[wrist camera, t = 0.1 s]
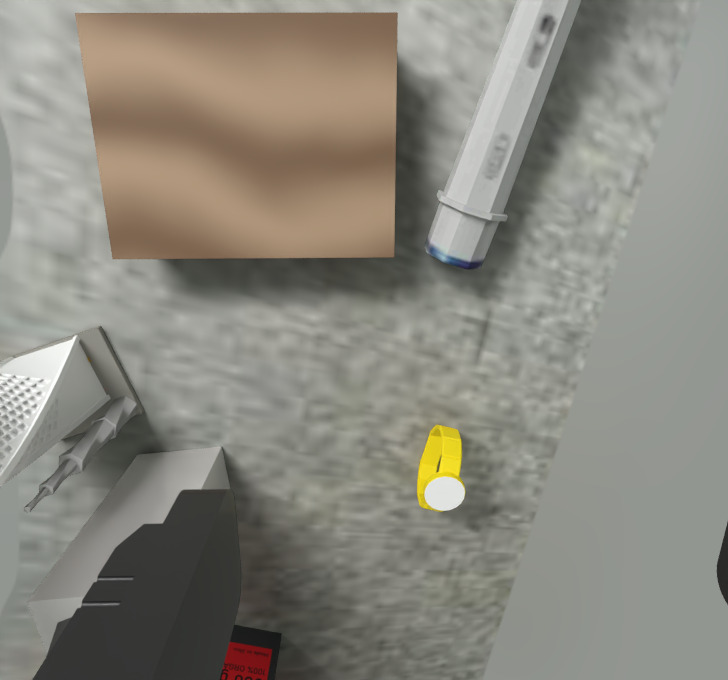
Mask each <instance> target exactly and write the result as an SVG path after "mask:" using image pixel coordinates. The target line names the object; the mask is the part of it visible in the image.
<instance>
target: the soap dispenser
mask: <svg viewBox="0 0 728 680" xmlns="http://www.w3.org/2000/svg"><path fill="white" fill-rule="evenodd" d="M185 489H230V484H229V480H228V475H227V470H226V465H225V460H224V456H223V451H222V447H211V448H201V449H190V450H180V451H169V452H159V453H149V454H138V455H137V456H136V458H135V459H134V460H133V462H132V463H131V464H130V466H129V467H128V468H127V470H126V471H125V472H124V474H123V475H122V476H121V478H120V479H119V480H118V482H117V483H116V484H115V486H114V487H113V488H112V490H111V491H110V492H109V494H108V495H107V496H106V498H105V499H104V500H103V502H102V503H101V504H100V506H99V507H98V508H97V510H96V511H95V512H94V514H93V515H92V516H91V517H90V519H89V520H88V521H87V523H86V524H85V525H84V527H83V528H82V529H81V531H80V532H79V533H78V535H77V536H76V537H75V539H74V540H73V541H72V543H71V544H70V545H69V547H68V548H67V549H66V551H65V552H64V553H63V555H62V556H61V557H60V559H59V560H58V561H57V563H56V564H55V565H54V567H53V568H52V569H51V571H50V572H49V573H48V575H47V576H46V577H45V579H44V580H43V581H42V582H41V584H40V585H39V586H38V588H37V589H36V590H35V592H34V593H33V594H32V596H31V597H30V598H29V600H28V601H27V603H28V606H29V608H30V611H31V614H32V616H33V619H34V622H35V624H36V627H37V630H38V632H39V635H40V638H41V640H42V643H43V646H44V648H45V651H46V654H47V656H48V654H49V653H50V651H51V649H52V648H53V646H54V645H55V643H56V641H57V640H58V638H59V637H60V635H61V633H62V632H63V630H64V629H65V627H66V625H67V624H68V622H69V621H70V619H71V618H72V616H73V614H74V613H75V611H76V610H77V608H81V605H82V600H83V598H84V597H85V595H86V594H87V592H88V590H89V589H90V587H91V586H92V584H93V582H97V578H98V577H97V576H98V575H99V573H100V571H101V570H102V568H103V567H104V565H105V563H106V562H107V560H108V559H109V557H110V555H111V554H112V552H113V551H114V549H115V547H117V546H118V545H119V544H120V543H121V542H123V541H124V540H125V539H126V538H127V537H129V536H130V535H131V534H132V533H134V532H135V531H136V530H137V529H138V528H140V527H141V526H142V525H143V524H158V523H163V522H164V520H165V518H166V517H167V515H168V513H169V511H170V509H171V507H172V505H173V504H174V502H175V500H176V498H177V496H178V494H179V493H180V492H181V491H182V490H185ZM47 656H46V657H47Z"/></svg>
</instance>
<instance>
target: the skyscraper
mask: <svg viewBox="0 0 728 680" xmlns="http://www.w3.org/2000/svg"><path fill="white" fill-rule="evenodd" d="M143 412H144V409H143V407H142V406H141V404H140V402H139V400H138V398H137V396H136V394H135V392H134V390H133V388H132V386H131V384H130V382H129V380H128V378H127V376H126V374H125V373H124V371H123V369H122V367H121V365H120V363H119V361H118V359H117V357H116V355H115V353H114V351H113V349H112V347H111V345H110V343H109V341H108V340H107V338H106V336H105V334H104V332H103V330H102V328H101V326H99V327H96V328H94V329H91V330H88V331H85V332H82V333H79V334H76V335H73V336H70V337H67V338H64V339H61V340H58V341H55V342H52V343H50V344H47V345H44V346H41V347H38V348H35V349H32V350H29V351H26V352H23V353H20V354H17V355H14V356H12V357H9V358H7V359H5V360H3V361H1V362H0V487H1V486H2V485H3V484H5V483H6V482H7V481H9V480H10V479H11V478H12V477H14V476H15V475H17V474H18V473H19V472H21V471H22V470H23V469H24V468H26V467H27V466H28V465H30V464H31V463H32V462H33V461H35V460H36V459H37V458H39V457H40V456H41V455H42V454H44V453H45V452H46V451H47V450H49V449H50V448H51V447H52V446H54V445H55V444H56V443H57V442H59V441H60V440H62V439H65V438H68V437H71V436H74V435H77V434H80V433H83V432H86V434H85V435H84V436H83V437H82V439H81V440H80V441H79V442H78V443H77V444H76V445H75V446H73V447H72V448H71V449H69V450H68V451H67V452H65V453H64V454H62V455H61V456H59V468H58V469H57V470H56V472H55V473H54V474H53V475H52V476H51V477H50V478H48V479H47V480H46V481H45V482H43V483H42V484H41V485H39V493H38V495H37V496H36V497H35V498H34V499H33V500H32V501H31V502H30V503H29V504H28V505H26V506H25V507H24V511H25V512H27V513H28V512H31V510H32V509H33V508H34V507H35V506H36V504H37V503H38V502H39V501H40V500H41V499H42V498H43V497H44V496H49V495H52V494H53V493H54V492H55V491H56V489H57V488H58V487H59V485H60V484H61V483H62V481H63V480H64V479H66V478H67V477H68V476H69V475H70V476H71V475H74V474H77V473H80V472H82V471H83V470H84V468H85V467H86V465H87V464H88V463H89V461H90V460H91V458H92V457H93V456H94V454H95V453H96V452H97V451H98V450H99V449H100V448H101V447H103V446H104V445H105V444H106V443H107V442H108V441H109V440H110V439H113V438H116V436H117V434H118V433H119V431H120V430H121V428H122V426H123V425H124V424H125V423H126V422H127V421H129V420H130V419H131V418H132V417H133V416H136V415H139V414H142V413H143Z"/></svg>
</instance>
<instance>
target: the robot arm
mask: <svg viewBox="0 0 728 680" xmlns="http://www.w3.org/2000/svg"><path fill="white" fill-rule="evenodd" d="M97 577H98V578H97V582H93V584H92V586H91V587H90V589H89V590H88V592H87V594H86V595H85V597H84V598H83V600H82V605H81V608H77V610H76V611H75V613H74V614H73V616H72V618H71V619H70V621H69V622H68V624H67V625H66V627H65V629H64V630H63V632H62V633H61V635H60V637H59V638H58V640H57V641H56V643H55V645H54V646H53V648H52V649H51V651H50V653H49V654H48V656H47V657H46V659H45V661H44V662H43V664H42V665H41V667H40V668H39V670H38V672H37V673H36V675H35V676H34V678H33V680H220V676H221V673H222V669H223V665H224V661H225V658H226V654H227V650H228V646H229V643H230V639H231V635H232V631H233V627H234V624H235V620H236V616H237V612H238V607H239V601H240V594H241V560H240V550H239V539H238V528H237V518H236V507H235V498H234V494H233V492H232V490H231V489H185V490H182V491H181V492H180V493H179V494H178V496H177V498H176V500H175V502H174V504H173V505H172V507H171V509H170V511H169V513H168V515H167V517H166V518H165V520H164V522H163V523H158V524H143V525H142V526H141V527H140V528H138V529H137V530H136V531H135V532H134V533H132V534H131V535H130V536H129V537H127V538H126V539H125V540H124V541H123V542H121V543H120V544H119V545H118V546H117V547H115V549H114V551H113V552H112V554H111V555H110V557H109V559H108V560H107V562H106V563H105V565H104V567H103V568H102V570H101V571H100V573H99V575H98V576H97ZM717 578H718V583H719V587H720V590H721V592H722V595H723V597H724V599H725V601H726V602H727V604H728V523H727V527H726V531H725V536H724V539H723V543H722V547H721V551H720V555H719V559H718V563H717Z"/></svg>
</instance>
